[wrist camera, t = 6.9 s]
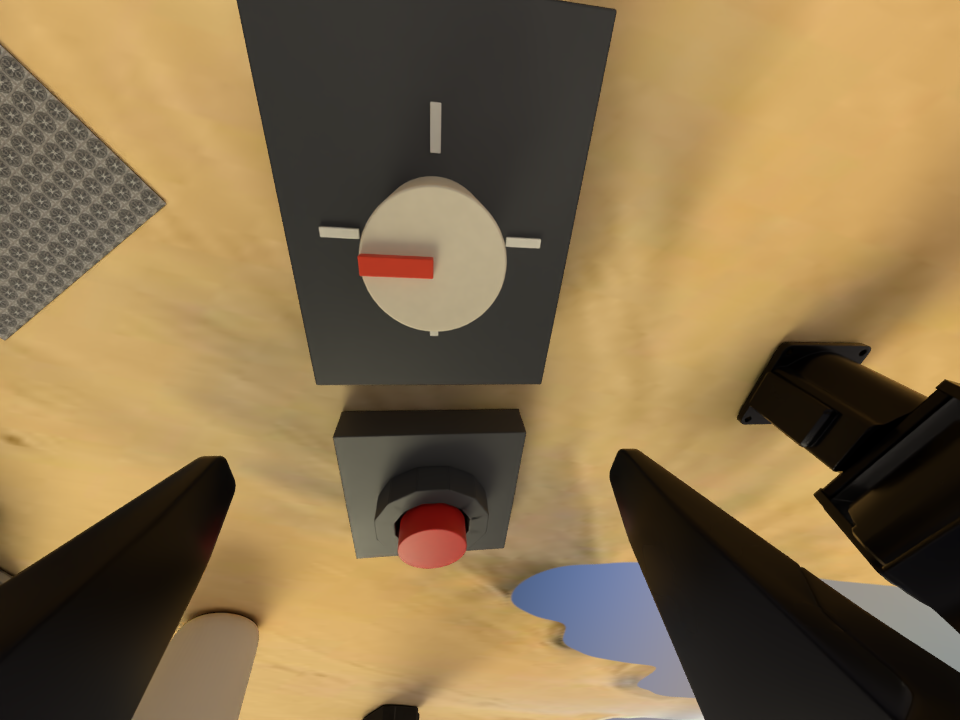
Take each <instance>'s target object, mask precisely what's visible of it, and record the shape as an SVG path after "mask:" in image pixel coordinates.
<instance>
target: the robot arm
mask: <svg viewBox="0 0 960 720" xmlns="http://www.w3.org/2000/svg"><path fill="white" fill-rule="evenodd" d="M870 351H871V348H870V347H869V346H867V345H865V344H862V343H813V342H786V343H784V344H782V345H781V346H779V348H778V349H777V351H776V352H775V354H774V356H773V357H772V359H771V361H770V362H769V364H768V366H767V367H766V369H765V371H764V372H763V374H762V376H761V377H760V379H759V381H758V382H757V384H756V386H755V388H754V389H753V391H752V393H751V394H750V396H749V398H748V399H747V401H746V403H745V404H744V406H743V408H742V409H741V411H740V413H739V414H738V416H737V420H739V421H740V422H741V423H742V424H773V425H774V426H776V427H777V428H778V429H779V430H781V431H782V432H783V433H784V434H786V435H787V436H788V437H789V438H791V439H792V440H793V441H794V442H796V443H797V444H798V445H799V446H801V447H804V448H805V449H806V450H808V451H809V452H810V453H811V454H813V455H814V456H815V457H816V458H818V459H819V460H820V461H821V462H823V463H824V464H825V465H826V466H828V467H829V468H830V469H832V470H833V471H835V472H839V473H840V474H839V475H838V476H837V477H836V478H835V479H833V480H832V481H831V482H830V483H829V484H828V485H827V486H825V487H824V488H823V489H822V488H820V489H819V490H818V491H817V492H815V493H814V496H815V498H816V499H817V500H818V501H819V502H820V504H821V505H822V506H823V508H824V510H825V511H826V512H827V513H828V514H829V516H830V517H831V518H832V519H833V520H834V521H835V523H836V524H837V525H838V526H839V527H840V529H841V530H842V531H843V532H844V533H845V535H846V536H847V537H848V538H849V539H850V540H851V542H852V543H853V544H854V545H855V546H856V548H857V549H858V550H859V551H860V552H861V554H862V555H863V556H864V557H865V558H866V559H867V561H868V562H869V563H870V564H871V565H872V567H873V568H874V569H875V570H876V571H877V572H878V573H879V574H880V575H881V576H883V577H884V578H885V579H886V580H887V581H889V582H890V583H891V584H893V585H896V586H898V587H899V588H901V589H902V590H903V591H905V592H906V593H907V594H909V595H911V596H912V597H914V598H915V599H917V600H918V601H920V602H922V603H924V604H925V605H927V606H929V607H931V608H932V609H934V610H935V611H936V612H937V613H938V614H939V615H940V616H941V617H942V618H943V619H945V620H946V621H947V622H948V623H949V624H950V625H951V626H952V627H953V628H954V629H955V630H956V631H957V632H958V633H959V634H960V383H956V382H953V381H949V380H946V379H945V380H944V381H943V382H941V383H940V384H939V385H938V386H937V387H936V389H937V390H936V391H935V392H934V393H932V394H931V395H930V396H929V397H926V396H924V395H922V394H920V393H918V392H916V391H914V390H912V389H910V388H908V387H906V386H904V385H902V384H900V383H898V382H896V381H894V380H892V379H890V378H888V377H886V376H884V375H882V374H880V373H878V372H875V371H873V370H871V369H869V368H867V367H865V366H863V365H861V363H862V362H863V360H864V359H865V358H866V356H867V355H868V354H869V352H870ZM610 482H611V485H612V488H613V492H614V495H615V498H616V501H617V504H618V507H619V511H620V514H621V517H622V520H623V523H624V527H625V530H626V533H627V536H628V539H629V541H630V544H631V546H632V549H633V551H634V554H635V556H636V558H637V561H638V563H639V565H640V568H641V570H642V573H643V575H644V577H645V580H646V582H647V584H648V587H649V589H650V591H651V594H652V596H653V598H654V601H655V603H656V606H657V608H658V610H659V612H660V615H661V617H662V620H663V622H664V624H665V627H666V629H667V631H668V634H669V636H670V638H671V640H672V643H673V646H674V648H675V650H676V653H677V655H678V657H679V659H680V662H681V664H682V667H683V669H684V672H685V674H686V676H687V679H688V681H689V683H690V685H691V688H692V690H693V693H694V695H695V697H696V700H697V702H698V705H699V707H700V709H701V712H702V714H703V716H704V719H705V720H960V672H958V671H956V670H955V669H953V668H952V667H950V666H948V665H947V664H946V663H944V662H943V661H941V660H939V659H938V658H936V657H935V656H933V655H932V654H930V653H929V652H927V651H925V650H924V649H922V648H921V647H919V646H918V645H916V644H915V643H913V642H912V641H910V640H909V639H907V638H905V637H904V636H903V635H901V634H900V633H898V632H896V631H895V630H893V629H892V628H890V627H889V626H887V625H886V624H884V623H883V622H881V621H880V620H878V619H877V618H875V617H874V616H872V615H871V614H869V613H868V612H866V611H865V610H863V609H862V608H860V607H859V606H857V605H856V604H855V603H853V602H852V601H850V600H849V599H847V598H846V597H845V596H843V595H841V594H840V593H839V592H837V591H836V590H834V589H833V588H832V587H830V586H829V585H827V584H826V583H824V582H823V581H821V580H820V579H819V578H817V577H816V576H815V575H813V574H812V573H810V572H809V571H808V570H806V569H805V568H803V567H800V566H799V564H798V563H796V562H795V561H793V560H792V559H791V558H789V557H788V556H786V555H785V554H784V553H782V552H781V551H779V550H778V549H777V548H775V547H774V546H772V545H771V544H770V543H768V542H767V541H765V540H764V539H763V538H761V537H760V536H758V535H757V534H756V533H754V532H753V531H751V530H750V529H749V528H747V527H746V526H744V525H743V524H742V523H740V522H739V521H737V520H736V519H735V518H733V517H732V516H730V515H729V514H727V513H726V512H725V511H723V510H722V509H720V508H719V507H718V506H716V505H715V504H713V503H712V502H711V501H709V500H708V499H706V498H705V497H704V496H702V495H701V494H699V493H698V492H697V491H695V490H694V489H692V488H691V487H690V486H688V485H687V484H685V483H684V482H683V481H681V480H680V479H678V478H677V477H676V476H674V475H673V474H671V473H670V472H669V471H667V470H666V469H664V468H663V467H662V466H660V465H659V464H657V463H656V462H655V461H653V460H652V459H650V458H649V457H648V456H646V455H645V454H643V453H642V452H641V451H639V450H637V449H620V450H619V451H618V453H617V455H616V457H615V460H614V462H613V465H612V467H611V470H610ZM235 487H236V484H235V480H234V477H233V475H232V472H231V470H230V467H229V465H228V462H227V460H226V459H225V458H224V457H223V456H203V457H200V458H198V459H196V460H194V461H193V462H191V463H189V464H188V465H186V466H185V467H183V468H182V469H180V470H179V471H177V472H175V473H174V474H172V475H171V476H169V477H168V478H166V479H165V480H163V481H161V482H160V483H158V484H157V485H155V486H154V487H152V488H151V489H149V490H147V491H146V492H144V493H143V494H141V495H140V496H138V497H137V498H135V499H133V500H132V501H130V502H129V503H127V504H126V505H124V506H123V507H121V508H119V509H118V510H116V511H115V512H113V513H112V514H110V515H109V516H107V517H105V518H104V519H102V520H101V521H99V522H98V523H96V524H95V525H93V526H91V527H90V528H88V529H87V530H85V531H84V532H82V533H81V534H79V535H77V536H76V537H74V538H73V539H71V540H70V541H68V542H67V543H65V544H63V545H62V546H60V547H59V548H57V549H56V550H54V551H53V552H51V553H49V554H48V555H46V556H45V557H43V558H42V559H40V560H39V561H37V562H35V563H34V564H32V565H31V566H29V567H28V568H26V569H25V570H23V571H21V572H20V573H18V574H17V575H15V576H14V577H12V578H11V579H9V580H7V581H6V582H4V583H3V584H1V585H0V720H132V718H133V716H134V714H135V712H136V710H137V707H138V705H139V703H140V701H141V699H142V697H143V695H144V693H145V691H146V689H147V687H148V685H149V683H150V681H151V679H152V677H153V675H154V673H155V671H156V669H157V667H158V665H159V663H160V661H161V659H162V657H163V655H164V653H165V651H166V649H167V646H168V644H169V642H170V640H171V638H172V636H173V634H174V632H175V630H176V628H177V626H178V624H179V622H180V620H181V618H182V616H183V614H184V612H185V610H186V608H187V606H188V604H189V602H190V600H191V598H192V596H193V594H194V592H195V590H196V588H197V585H198V583H199V581H200V579H201V577H202V575H203V573H204V571H205V569H206V567H207V564H208V562H209V559H210V557H211V554H212V552H213V549H214V546H215V544H216V541H217V538H218V536H219V533H220V530H221V528H222V525H223V522H224V520H225V517H226V514H227V511H228V509H229V506H230V503H231V501H232V498H233V495H234V492H235Z"/></svg>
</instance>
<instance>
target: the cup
mask: <svg viewBox="0 0 960 720" xmlns="http://www.w3.org/2000/svg"><path fill="white" fill-rule="evenodd" d="M258 641H259V630H258V627H257V626H256V624H255V623H254V622H253V621H251V620H250V619H248V618H246V617H243V616H240V615H236V614H230V613H212V614H206V615H202V616H198V617H196V618H193V619H192V620H190V621H188V622H187V623H186V624H184V625H183V626H182V627H181V628H180V629H179V630H178V632H177V633H176V634H175V636H174V637H173V638H172V640H171V641H170V643H169V644H168V646H167V649H166V651H165V653H164V655H163V657H162V659H161V661H160V663H159V665H158V667H157V669H156V671H155V673H154V675H153V677H152V679H151V681H150V683H149V685H148V687H147V689H146V691H145V693H144V695H143V697H142V699H141V701H140V703H139V705H138V707H137V710H136V712H135V714H134V716H133V718H132V720H238V717H239V714H240V710H241V706H242V703H243V699H244V695H245V691H246V688H247V684H248V680H249V677H250V673H251V669H252V666H253V662H254V658H255V654H256V650H257V646H258Z"/></svg>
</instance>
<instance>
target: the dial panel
mask: <svg viewBox="0 0 960 720" xmlns="http://www.w3.org/2000/svg"><path fill="white" fill-rule="evenodd" d="M237 4H238V9H239V14H240V19H241V24H242V29H243V33H244V38H245V43H246V48H247V53H248V58H249V62H250V67H251V72H252V77H253V82H254V86H255V91H256V96H257V101H258V106H259V111H260V115H261V120H262V125H263V130H264V135H265V140H266V144H267V149H268V154H269V159H270V164H271V168H272V173H273V178H274V183H275V188H276V193H277V197H278V202H279V207H280V212H281V217H282V222H283V226H284V231H285V236H286V241H287V246H288V250H289V255H290V260H291V265H292V270H293V275H294V279H295V284H296V289H297V294H298V299H299V304H300V308H301V313H302V318H303V323H304V328H305V333H306V337H307V342H308V347H309V352H310V357H311V361H312V366H313V371H314V376H315V381H316V384H317V385H470V384H541V382H542V377H543V372H544V367H545V362H546V357H547V352H548V348H549V343H550V338H551V333H552V328H553V323H554V318H555V313H556V308H557V303H558V298H559V293H560V288H561V283H562V278H563V274H564V269H565V264H566V259H567V254H568V249H569V244H570V239H571V234H572V229H573V224H574V219H575V214H576V209H577V205H578V200H579V195H580V190H581V185H582V180H583V175H584V170H585V165H586V160H587V155H588V150H589V145H590V140H591V135H592V131H593V126H594V121H595V116H596V111H597V106H598V101H599V96H600V91H601V86H602V81H603V76H604V71H605V66H606V61H607V57H608V52H609V47H610V42H611V37H612V32H613V27H614V22H615V17H616V10H615V9H611V8H605V7H599V6H592V5H586V4H580V3H573V2H567V1H560V0H237ZM425 176H437V177H443V178H447V179H450V180H452V181H454V182H457V183H459V184H460V185H462V186H463V187H465V188H466V189H467V190H468V191H469V192H471V194H472V195H473V196H474V197H475V198H476V199H477V200H478V201H479V202H480V203H481V204H482V205H483V206H484V207H485V208H486V209H487V211H488V212H489V213H490V214H491V215H492V217H493V218H494V220H495V221H496V223H497V225H498V227H499V229H500V231H501V233H502V236H503V239H504V243H505V248H506V256H507V265H506V273H505V279H504V282H503V285H502V288H501V290H500V292H499V294H498V296H497V297H496V299H495V301H494V302H493V303H492V305H491V306H490V307H489V308H488V309H487V310H486V311H485V312H484V313H483V314H482V315H481V316H480V317H478V318H477V319H476V320H474V321H472V322H471V323H469V324H467V325H465V326H462V327H460V328H456V329H453V330H448V331H436V332H433V331H424V330H418V329H415V328H412V327H409V326H406V325H404V324H402V323H400V322H398V321H397V320H395V319H393V318H392V317H391V316H389V315H388V314H387V313H385V312H384V311H383V310H382V309H381V308H380V307H379V306H378V304H377V303H376V302H375V301H374V299H373V298H372V296H371V295H370V293H369V291H368V290H367V287H366V285H365V283H364V281H363V277H362V276H360V275H359V266H358V255H359V247H360V240H361V236H362V232H363V230H364V227H365V225H366V223H367V221H368V219H369V218H370V216H371V214H372V213H373V212H374V210H375V209H376V208H377V207H378V206H379V205H380V204H381V203H382V202H383V201H384V200H385V199H386V198H387V197H389V196H390V195H391V194H392V193H393V192H394V191H395V190H396V189H397V188H398V187H400V186H401V185H403V184H404V183H406V182H408V181H410V180H412V179H416V178H419V177H425Z"/></svg>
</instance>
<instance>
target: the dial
mask: <svg viewBox="0 0 960 720" xmlns="http://www.w3.org/2000/svg"><path fill="white" fill-rule="evenodd" d="M506 265H507V256H506V248H505V243H504V239H503V236H502V233H501V231H500V229H499V227H498V225H497V223H496V221H495V220H494V218H493V217H492V215H491V214H490V213H489V212H488V211H487V209H486V208H485V207H484V206H483V205H482V204H481V203H480V202H479V201H478V200H477V199H476V198H475V197H474V196H473V195H472V194H471V192H469V191H468V190H467V189H466V188H465V187H463V186H462V185H460V184H459V183H457V182H454V181H452V180H450V179H447V178H443V177H437V176H425V177H419V178H416V179H412V180H410V181H408V182H406V183H404V184H403V185H401V186H400V187H398V188H397V189H396V190H395V191H394V192H393V193H392V194H391V195H390V196H389V197H387V198H386V199H385V200H384V201H383V202H382V203H381V204H380V205H379V206H378V207H377V208H376V209H375V210H374V212H373V213H372V214H371V216H370V218H369V219H368V221H367V223H366V225H365V227H364V230H363V232H362V236H361V240H360V247H359V255H358V266H359V275H360V276H362V277H363V281H364V283H365V285H366V287H367V290H368V291H369V293H370V295H371V296H372V298H373V299H374V301H375V302H376V303H377V304H378V306H379V307H380V308H381V309H382V310H383V311H384V312H385V313H387V314H388V315H389V316H391V317H392V318H393V319H395V320H397V321H398V322H400V323H402V324H404V325H406V326H409V327H412V328H415V329H418V330H424V331H433V332H436V331H448V330H453V329H456V328H460V327H462V326H465V325H467V324H469V323H471V322H472V321H474V320H476V319H477V318H478V317H480V316H481V315H482V314H483V313H484V312H485V311H486V310H487V309H488V308H489V307H490V306H491V305H492V303H493V302H494V301H495V299H496V297H497V296H498V294H499V292H500V290H501V288H502V285H503V282H504V279H505V273H506Z"/></svg>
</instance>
